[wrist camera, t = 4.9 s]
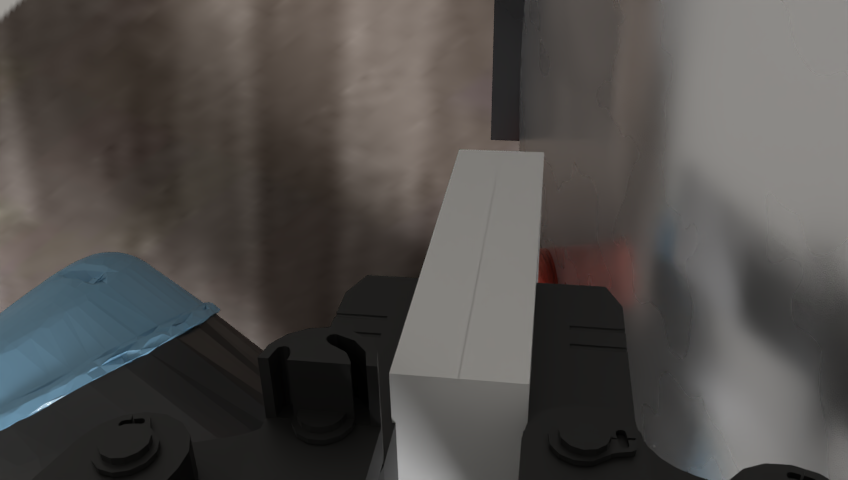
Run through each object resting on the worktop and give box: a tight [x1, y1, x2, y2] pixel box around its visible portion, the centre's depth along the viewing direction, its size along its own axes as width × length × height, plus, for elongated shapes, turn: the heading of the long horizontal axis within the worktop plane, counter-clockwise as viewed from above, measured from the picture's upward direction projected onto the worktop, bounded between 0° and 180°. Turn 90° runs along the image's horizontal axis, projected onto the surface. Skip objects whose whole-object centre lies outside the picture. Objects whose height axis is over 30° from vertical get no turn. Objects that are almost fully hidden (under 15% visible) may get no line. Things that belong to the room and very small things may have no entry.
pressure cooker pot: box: [491, 0, 525, 141], centre depth 29 cm, size 20×24×13 cm
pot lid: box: [519, 0, 848, 480], centre depth 15 cm, size 20×20×3 cm
